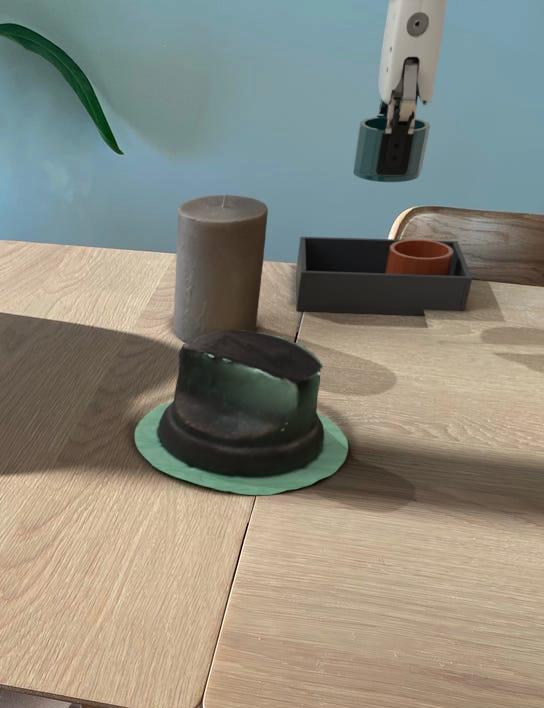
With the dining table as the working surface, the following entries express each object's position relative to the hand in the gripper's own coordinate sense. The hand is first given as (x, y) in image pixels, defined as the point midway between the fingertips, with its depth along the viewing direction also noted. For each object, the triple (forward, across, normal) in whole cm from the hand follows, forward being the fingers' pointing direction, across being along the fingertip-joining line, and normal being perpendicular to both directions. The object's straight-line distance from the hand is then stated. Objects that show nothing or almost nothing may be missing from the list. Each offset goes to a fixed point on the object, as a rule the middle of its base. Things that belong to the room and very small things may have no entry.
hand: (388, 163), depth 108 cm
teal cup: (+1, 0, 0) cm, 1 cm away
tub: (+16, +4, -2) cm, 16 cm away
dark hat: (+16, -36, +14) cm, 42 cm away
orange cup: (+15, +4, -6) cm, 17 cm away
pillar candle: (+16, -10, +18) cm, 26 cm away
